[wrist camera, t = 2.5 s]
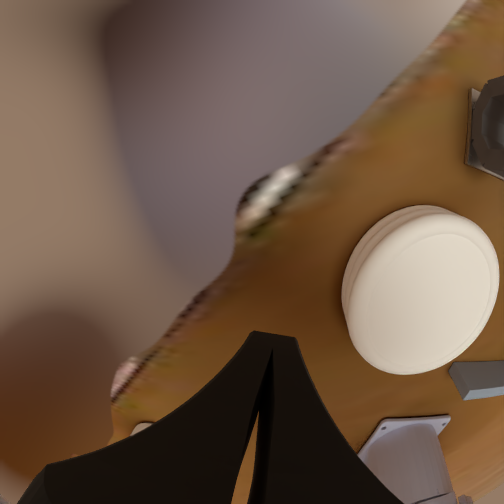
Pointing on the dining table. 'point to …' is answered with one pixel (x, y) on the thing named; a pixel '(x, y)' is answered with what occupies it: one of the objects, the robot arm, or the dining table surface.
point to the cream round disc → (419, 289)
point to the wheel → (490, 126)
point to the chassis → (478, 378)
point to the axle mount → (470, 152)
